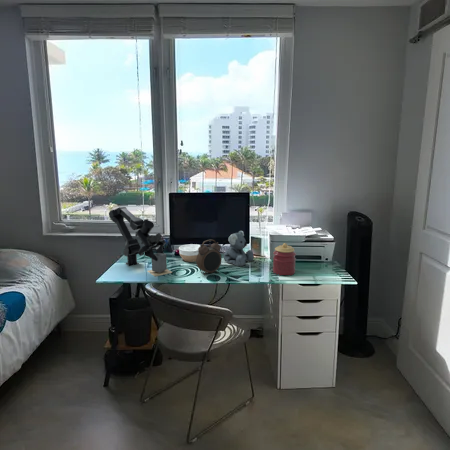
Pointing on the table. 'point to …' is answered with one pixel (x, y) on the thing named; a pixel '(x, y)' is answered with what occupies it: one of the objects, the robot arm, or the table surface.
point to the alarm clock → (209, 257)
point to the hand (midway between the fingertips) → (160, 258)
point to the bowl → (189, 252)
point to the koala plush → (238, 250)
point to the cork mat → (159, 273)
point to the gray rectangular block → (159, 263)
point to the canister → (284, 260)
